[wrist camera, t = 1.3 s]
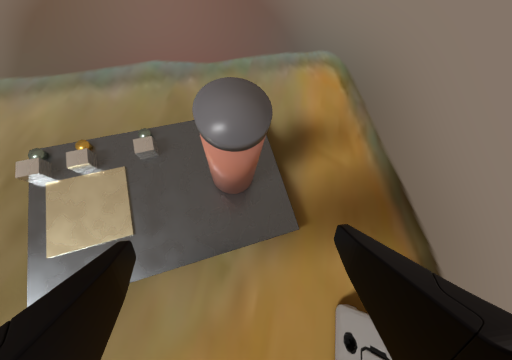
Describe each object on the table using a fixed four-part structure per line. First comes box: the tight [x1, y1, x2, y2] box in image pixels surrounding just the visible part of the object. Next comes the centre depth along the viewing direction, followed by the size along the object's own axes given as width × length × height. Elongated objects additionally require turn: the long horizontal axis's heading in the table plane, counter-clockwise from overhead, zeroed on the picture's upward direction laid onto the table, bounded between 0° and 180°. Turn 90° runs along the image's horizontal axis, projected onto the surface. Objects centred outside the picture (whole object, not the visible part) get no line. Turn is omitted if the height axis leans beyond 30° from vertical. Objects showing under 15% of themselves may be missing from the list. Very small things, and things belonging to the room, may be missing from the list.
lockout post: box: [193, 77, 272, 194], centre depth 17 cm, size 4×4×11 cm
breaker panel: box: [15, 120, 299, 307], centre depth 21 cm, size 15×24×3 cm, turn 107°
